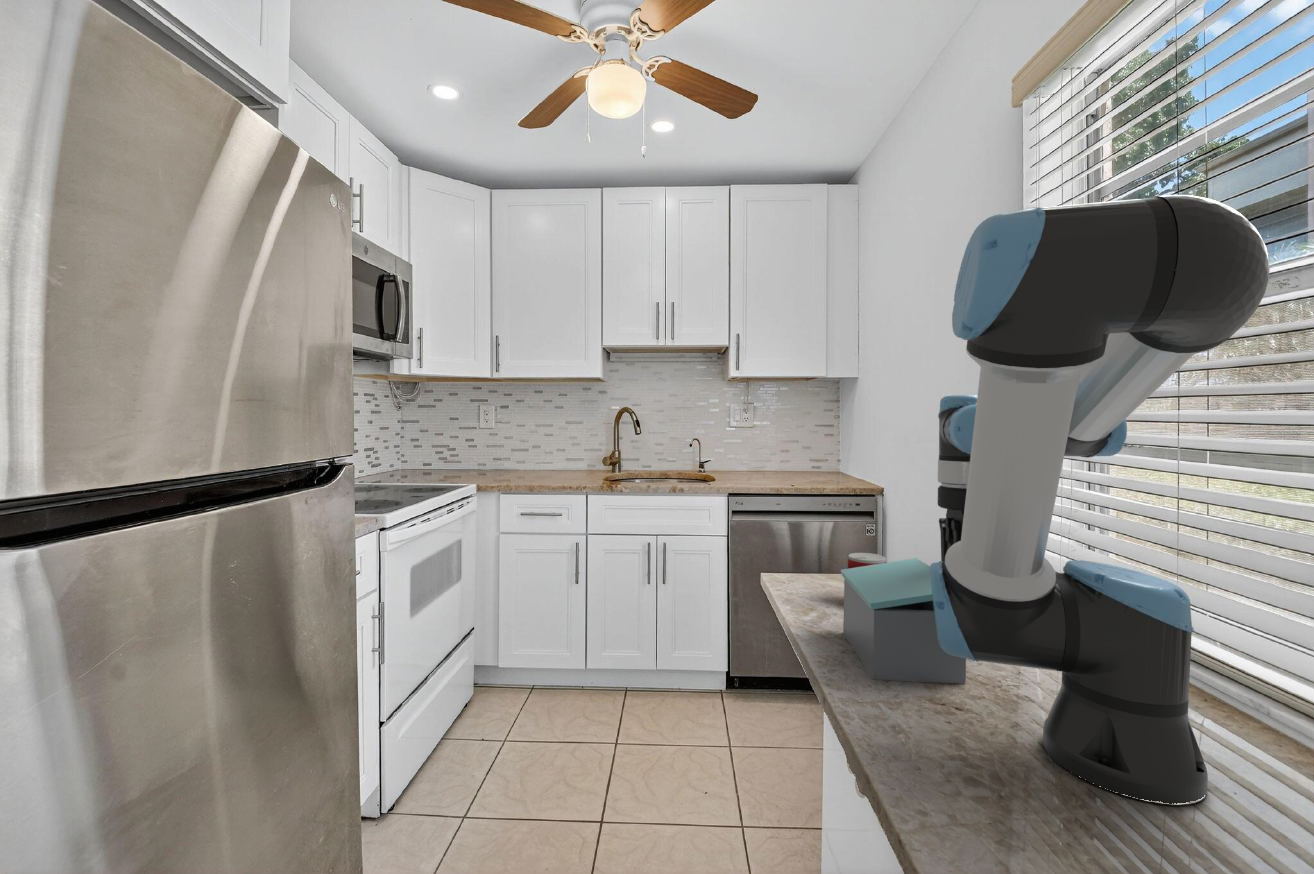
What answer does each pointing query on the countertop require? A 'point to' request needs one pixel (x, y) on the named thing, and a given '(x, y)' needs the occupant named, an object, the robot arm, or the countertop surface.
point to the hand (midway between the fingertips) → (959, 621)
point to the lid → (891, 583)
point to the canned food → (864, 559)
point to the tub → (899, 642)
